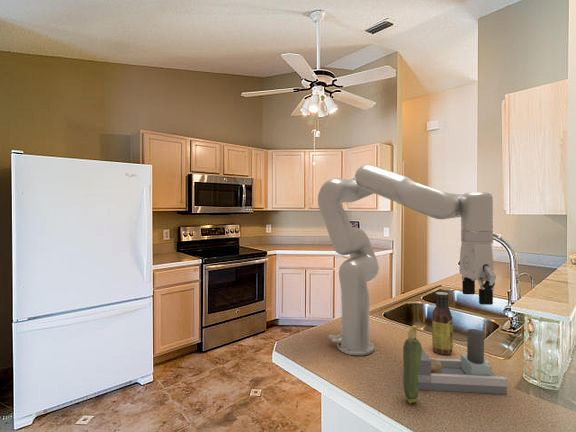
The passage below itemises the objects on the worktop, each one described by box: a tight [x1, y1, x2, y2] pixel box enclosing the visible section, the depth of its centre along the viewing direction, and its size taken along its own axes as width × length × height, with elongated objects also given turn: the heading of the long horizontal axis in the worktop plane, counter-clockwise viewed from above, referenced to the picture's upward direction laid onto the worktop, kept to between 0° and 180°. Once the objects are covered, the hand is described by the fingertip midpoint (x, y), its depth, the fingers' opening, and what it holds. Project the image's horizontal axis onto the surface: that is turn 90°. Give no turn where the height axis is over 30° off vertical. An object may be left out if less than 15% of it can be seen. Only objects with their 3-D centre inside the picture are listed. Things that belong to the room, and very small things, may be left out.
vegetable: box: [402, 324, 423, 405], centre depth 80 cm, size 4×4×20 cm
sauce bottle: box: [431, 291, 454, 356], centre depth 107 cm, size 6×6×20 cm
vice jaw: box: [460, 328, 492, 376], centre depth 88 cm, size 5×7×12 cm
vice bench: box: [418, 348, 508, 395], centre depth 89 cm, size 23×10×8 cm, turn 84°
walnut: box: [430, 359, 441, 374], centre depth 89 cm, size 4×4×3 cm
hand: (476, 298), depth 87 cm, fingers open, 9 cm apart
